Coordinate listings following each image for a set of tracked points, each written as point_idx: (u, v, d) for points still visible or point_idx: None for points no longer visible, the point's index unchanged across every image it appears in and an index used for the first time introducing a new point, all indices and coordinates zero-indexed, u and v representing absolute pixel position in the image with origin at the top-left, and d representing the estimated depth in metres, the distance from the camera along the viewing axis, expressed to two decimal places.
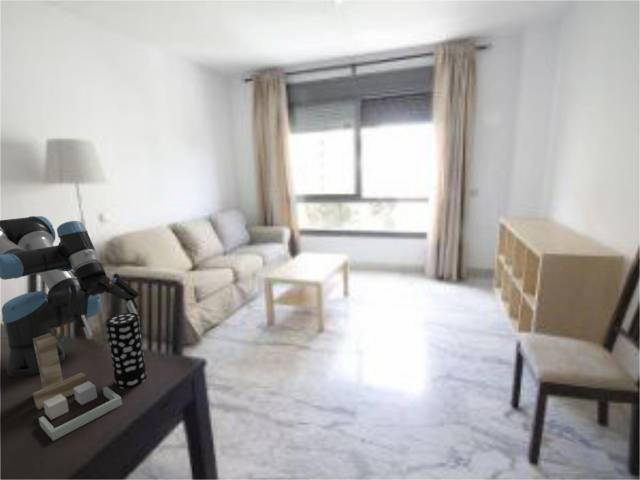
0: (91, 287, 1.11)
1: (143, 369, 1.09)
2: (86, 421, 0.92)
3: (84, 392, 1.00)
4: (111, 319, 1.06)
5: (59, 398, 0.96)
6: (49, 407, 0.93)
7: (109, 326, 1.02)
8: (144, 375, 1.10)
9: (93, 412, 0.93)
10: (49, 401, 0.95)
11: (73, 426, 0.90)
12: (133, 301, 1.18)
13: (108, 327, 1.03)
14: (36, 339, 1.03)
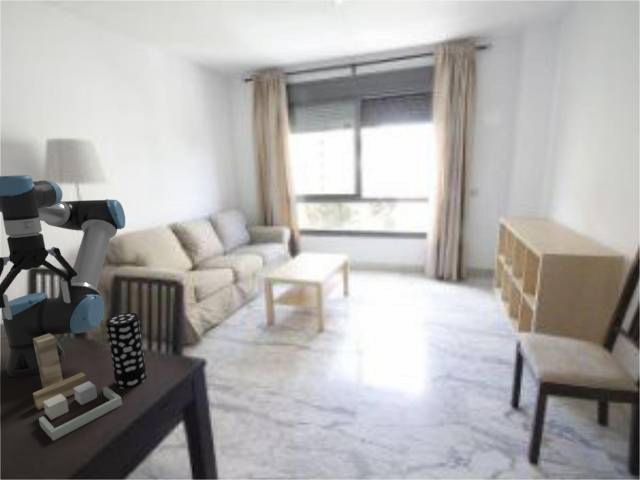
0: (23, 264, 0.96)
1: (143, 369, 1.09)
2: (86, 421, 0.92)
3: (84, 392, 1.00)
4: (111, 319, 1.06)
5: (59, 398, 0.96)
6: (49, 407, 0.93)
7: (109, 326, 1.02)
8: (144, 375, 1.10)
9: (93, 412, 0.93)
10: (49, 401, 0.95)
11: (73, 426, 0.90)
12: (69, 281, 1.07)
13: (108, 327, 1.03)
14: (36, 339, 1.03)
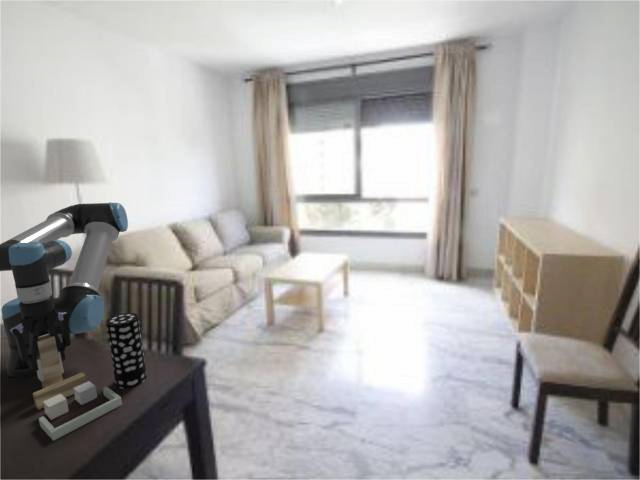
0: (37, 328, 1.00)
1: (143, 369, 1.09)
2: (86, 421, 0.92)
3: (84, 392, 1.00)
4: (111, 319, 1.06)
5: (59, 398, 0.96)
6: (49, 407, 0.93)
7: (109, 326, 1.02)
8: (144, 375, 1.10)
9: (93, 412, 0.93)
10: (50, 401, 0.95)
11: (73, 426, 0.90)
12: (62, 351, 1.07)
13: (108, 327, 1.03)
14: None
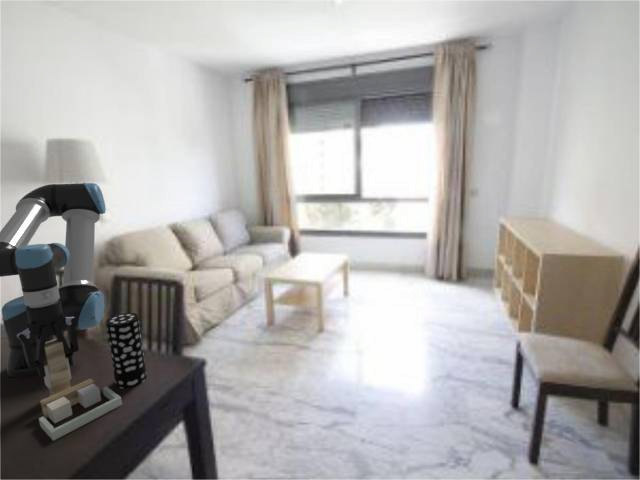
0: (44, 333, 0.97)
1: (143, 369, 1.09)
2: (86, 421, 0.92)
3: (88, 395, 0.98)
4: (111, 319, 1.06)
5: (62, 401, 0.95)
6: (52, 410, 0.92)
7: (109, 326, 1.02)
8: (144, 375, 1.10)
9: (93, 412, 0.93)
10: (53, 404, 0.94)
11: (73, 426, 0.90)
12: (70, 357, 1.04)
13: (108, 327, 1.03)
14: None
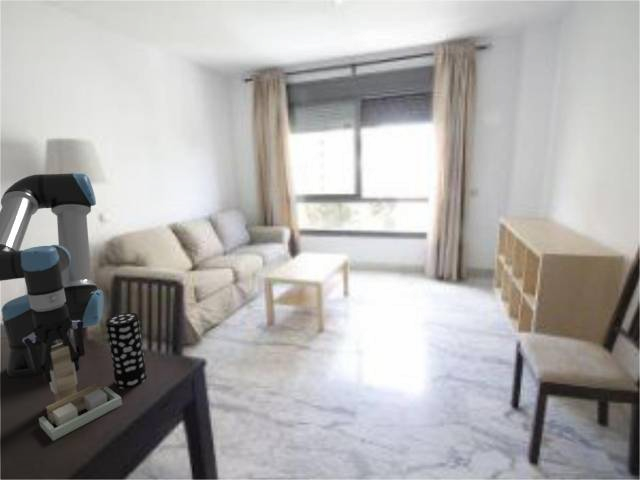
0: (50, 337, 0.95)
1: (143, 369, 1.09)
2: (86, 421, 0.92)
3: (95, 401, 0.96)
4: (111, 319, 1.06)
5: (69, 408, 0.93)
6: (59, 417, 0.89)
7: (109, 326, 1.02)
8: (144, 375, 1.10)
9: (93, 412, 0.93)
10: (59, 411, 0.92)
11: (73, 426, 0.90)
12: (76, 362, 1.01)
13: (108, 327, 1.03)
14: None
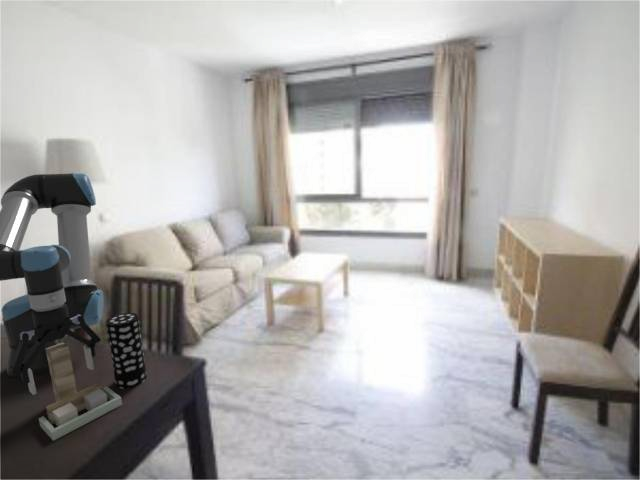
0: (47, 337, 0.94)
1: (143, 369, 1.09)
2: (86, 421, 0.92)
3: (95, 401, 0.96)
4: (111, 319, 1.06)
5: (69, 408, 0.93)
6: (59, 417, 0.89)
7: (109, 326, 1.02)
8: (144, 375, 1.10)
9: (93, 412, 0.93)
10: (59, 411, 0.91)
11: (73, 426, 0.90)
12: (92, 348, 1.04)
13: (108, 327, 1.03)
14: (49, 349, 0.97)
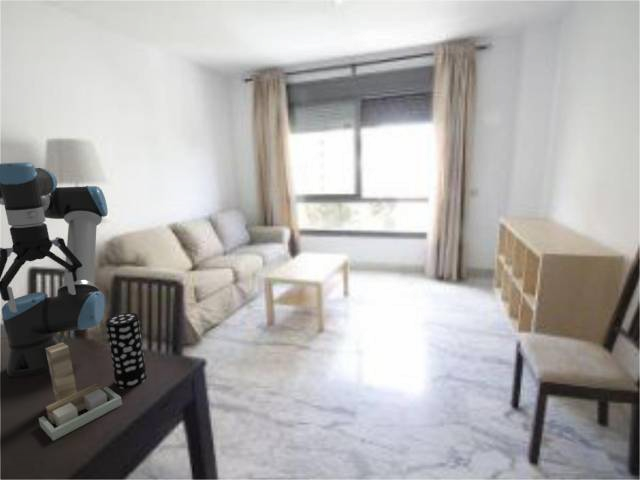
0: (27, 255, 0.93)
1: (143, 369, 1.09)
2: (86, 421, 0.92)
3: (95, 401, 0.96)
4: (111, 319, 1.06)
5: (69, 408, 0.93)
6: (59, 417, 0.89)
7: (109, 326, 1.02)
8: (144, 375, 1.10)
9: (93, 412, 0.93)
10: (59, 411, 0.91)
11: (73, 426, 0.90)
12: (73, 272, 1.04)
13: (108, 327, 1.03)
14: (49, 349, 0.97)
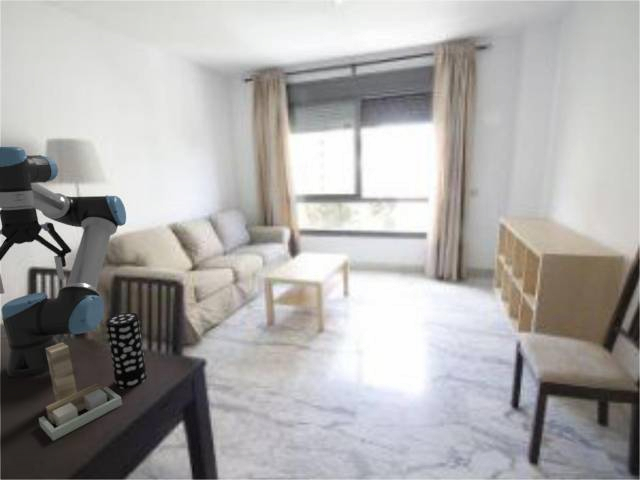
0: (15, 237, 0.95)
1: (143, 369, 1.09)
2: (86, 421, 0.92)
3: (95, 401, 0.96)
4: (111, 319, 1.06)
5: (69, 408, 0.93)
6: (59, 417, 0.89)
7: (109, 326, 1.02)
8: (144, 375, 1.10)
9: (93, 412, 0.93)
10: (59, 411, 0.91)
11: (73, 426, 0.90)
12: (63, 257, 1.05)
13: (108, 327, 1.03)
14: (49, 349, 0.97)
